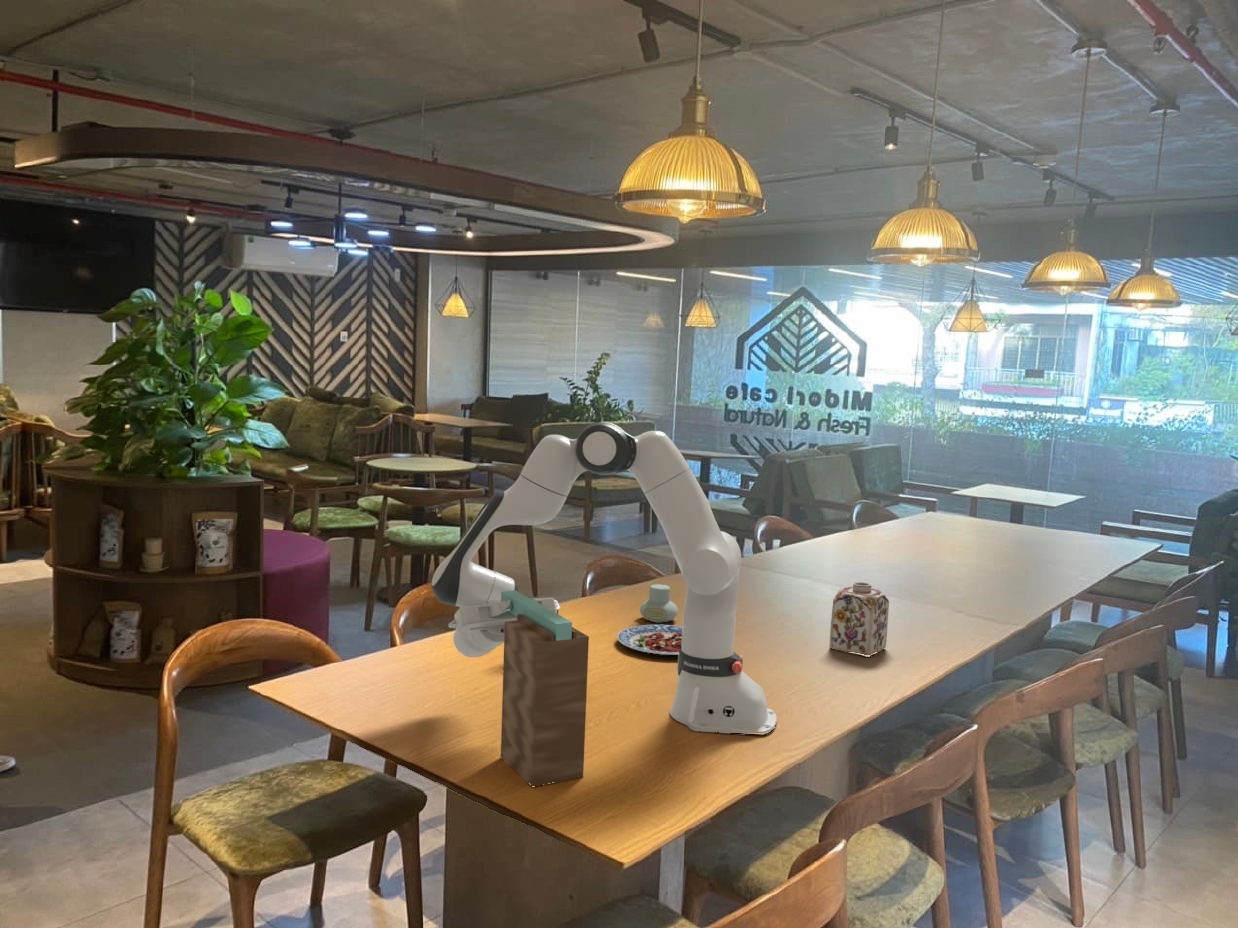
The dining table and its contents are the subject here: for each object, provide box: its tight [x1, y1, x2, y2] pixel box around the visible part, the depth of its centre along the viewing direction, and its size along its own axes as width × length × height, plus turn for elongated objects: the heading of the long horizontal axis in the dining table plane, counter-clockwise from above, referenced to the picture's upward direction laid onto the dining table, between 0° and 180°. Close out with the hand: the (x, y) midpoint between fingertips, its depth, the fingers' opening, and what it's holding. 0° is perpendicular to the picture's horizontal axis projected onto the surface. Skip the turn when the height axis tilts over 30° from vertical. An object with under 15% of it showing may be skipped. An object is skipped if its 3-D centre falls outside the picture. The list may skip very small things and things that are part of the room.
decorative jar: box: [828, 581, 890, 655], centre depth 258 cm, size 12×12×18 cm
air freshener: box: [639, 583, 679, 624], centre depth 278 cm, size 11×8×10 cm
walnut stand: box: [500, 614, 590, 786], centre depth 175 cm, size 14×10×27 cm
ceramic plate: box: [616, 624, 682, 656], centre depth 254 cm, size 26×26×3 cm
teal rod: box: [501, 590, 573, 641], centre depth 178 cm, size 24×3×3 cm, turn 30°
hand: (520, 603), depth 183 cm, fingers open, 4 cm apart
